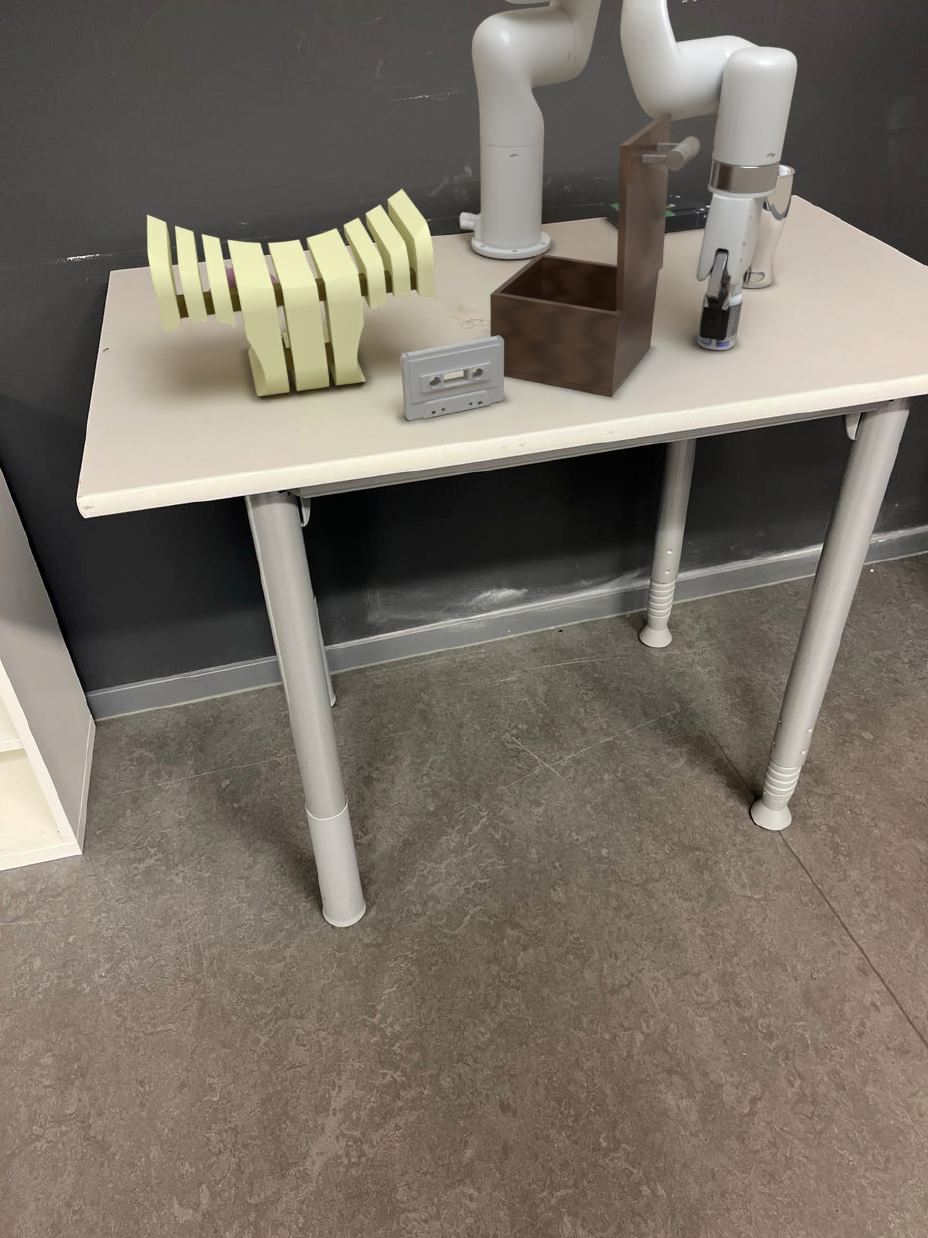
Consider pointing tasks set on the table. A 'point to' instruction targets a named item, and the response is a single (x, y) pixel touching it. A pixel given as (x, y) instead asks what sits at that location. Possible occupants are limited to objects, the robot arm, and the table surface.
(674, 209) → the disk drive
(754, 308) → the table surface
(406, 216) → the slatted curved stool
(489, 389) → the cassette
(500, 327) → the chest
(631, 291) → the lid
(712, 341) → the pill bottle
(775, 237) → the beer glass
